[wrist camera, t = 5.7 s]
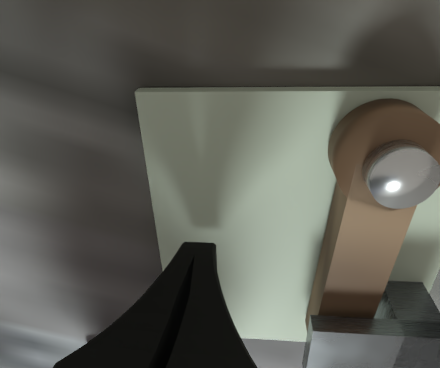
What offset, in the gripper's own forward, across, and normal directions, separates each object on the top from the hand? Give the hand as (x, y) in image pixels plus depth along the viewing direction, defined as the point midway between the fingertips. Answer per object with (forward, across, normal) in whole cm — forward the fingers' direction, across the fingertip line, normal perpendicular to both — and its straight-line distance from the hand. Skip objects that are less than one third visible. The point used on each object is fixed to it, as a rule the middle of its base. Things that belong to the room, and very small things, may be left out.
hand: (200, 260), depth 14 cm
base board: (+2, -4, 0) cm, 5 cm away
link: (+1, -7, -1) cm, 7 cm away
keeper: (+2, -8, +4) cm, 9 cm away
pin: (0, -7, -5) cm, 8 cm away
